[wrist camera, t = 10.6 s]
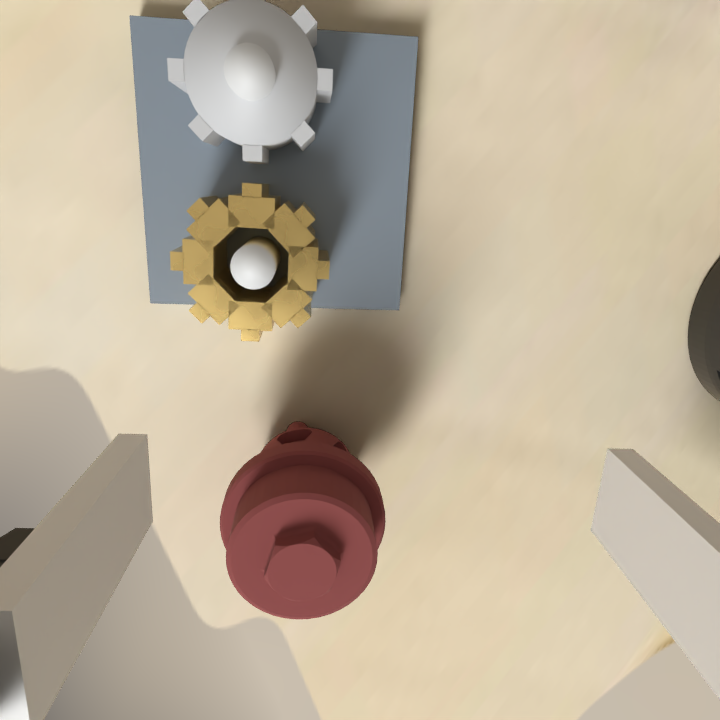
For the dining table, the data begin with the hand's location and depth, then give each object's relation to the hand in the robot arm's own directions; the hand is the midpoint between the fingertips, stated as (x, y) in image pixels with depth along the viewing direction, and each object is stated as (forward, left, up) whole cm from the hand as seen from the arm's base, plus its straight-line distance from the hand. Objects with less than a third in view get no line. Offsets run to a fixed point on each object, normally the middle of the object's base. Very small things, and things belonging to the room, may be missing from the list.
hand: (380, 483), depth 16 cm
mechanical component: (+2, +12, -23) cm, 26 cm away
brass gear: (+5, -4, -21) cm, 22 cm away
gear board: (+4, -8, -23) cm, 25 cm away
